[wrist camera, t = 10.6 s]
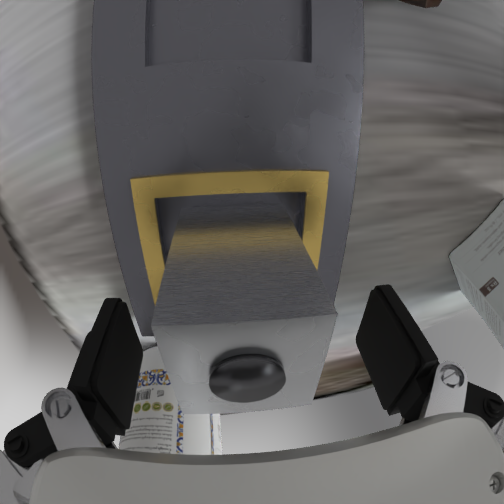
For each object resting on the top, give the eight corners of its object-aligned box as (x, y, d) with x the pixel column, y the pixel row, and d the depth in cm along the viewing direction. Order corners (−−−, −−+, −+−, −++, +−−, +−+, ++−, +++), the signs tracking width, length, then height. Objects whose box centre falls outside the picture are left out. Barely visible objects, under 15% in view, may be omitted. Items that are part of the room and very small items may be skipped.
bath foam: (121, 369, 22) (98, 593, 4) (160, 328, 19) (147, 625, 2) (187, 399, 24) (193, 599, 7) (235, 366, 22) (265, 612, 5)
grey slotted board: (342, -61, 7) (356, -75, 6) (321, 307, 20) (329, 327, 18) (116, -60, 6) (104, -74, 5) (146, 317, 19) (141, 338, 17)
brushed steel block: (282, 203, 14) (341, 321, 7) (277, 284, 17) (312, 410, 10) (181, 208, 14) (149, 334, 7) (191, 289, 17) (182, 420, 10)
